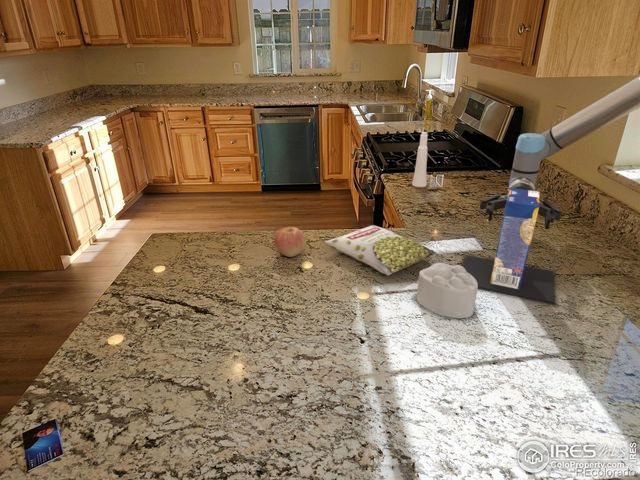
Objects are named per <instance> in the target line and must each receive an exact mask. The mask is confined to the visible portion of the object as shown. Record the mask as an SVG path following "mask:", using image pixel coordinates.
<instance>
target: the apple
mask: <svg viewBox="0 0 640 480" xmlns="http://www.w3.org/2000/svg"><path fill="white" fill-rule="evenodd" d="M273 244H274V246H275V248H276V250H277V251H278V252H279V254H281V255H283V256H285V257H288V258H292V257H296V256H298V255H299V254H301V253H302V252H303V250H304V248H305V244H306V238H305V235H304V232H303V231H302V230H301V229H300V228H298V227H295V226H288V227H282V228H280V229H279V230H277V231H276V233H275V234H274V238H273Z"/></svg>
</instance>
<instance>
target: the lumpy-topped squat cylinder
mask: <svg viewBox="0 0 640 480" xmlns="http://www.w3.org/2000/svg"><path fill="white" fill-rule="evenodd" d="M478 290H479V288H478V283H477V281H476V279H475V278H474V277H473V276H472V275H471V274H469V273H467V271H466V270H465V268H464V267H463V266H462V265H460V264H455V265H451V264H448V263H445V262H435V263H432V264H431V265H430V266H429V267H427V268H426V267H425V268H424V269H422V270H420V271H419V274H418V282H417V290H416V301H417V302H418V303H419V305H421V306H423V307H424V308H425V309H427V310H429V311H431V312H433V313H435V314H437V315H440V316H442V317H446V318H454V319H465V318H470V317H472V316H473V315H474V310H475V305H476V301H477V294H478Z"/></svg>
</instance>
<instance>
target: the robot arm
mask: <svg viewBox="0 0 640 480" xmlns="http://www.w3.org/2000/svg"><path fill="white" fill-rule="evenodd" d="M638 109H640V75H639V76H637V77H636V78H633V80H630V81H629V82H627V83H626V84H624V85H622V86H620V87H619V88H617V89H616V90H614V91H612V92H610V93H609V94H607V95H605V96H604V97H602V98H600V99H599V100H597V101H594V102H593V103H591V104H590V105H588V106H586V107H584V108H583V109H582V110H580V111H578V112H577V113H575V114H573V115H571V116H570V117H568V118H566V119H565V120H563V121H561V122H559V123H558V124H556V125H554V126H553V127H551V128H549V129H547V130H546V131H544V132H542V133H541V134H540V133H533V132H532V133H531V132H527V133H521V134H519V136H518V137H517V142H516V145H515V151H514V152H515V153H514V156H513V157H514V158H513V163H512V167H511V172H510V176H509V181H508V187H507V194H506V195H505V196H504V195H502V194H501V193H500V192H495V194H494V195H491V196H488V197H486V198H482V199H481V200H480V204H479V209H480V210H485V214H487V215H488V220H487V221H488V222H492V219H493V215H494V211H497V210H503V209H505V207H506V202H507V197H508V192H509V188H515V189H523V190H531V191H536V183H537V178H538V175H539V170H540V166H541V162H542V161H543V160H545V159H547V158H549V157H551V156H553V155H555V154H557V153H558V152H561V151H562V150H563V149H565V148H567V147H569V146H571V145H573V144H574V143H577V142H579V141H580V140H582V139H584V138H585V137H588V136H590V135H592V134H593V133H596V132H598V131H599V130H601V129H602V128H604V127H606V126H608V125H610V124H612V123H615V122H616V121H617V120H620V119H621V118H624V117H625V116H627V115H629V114H631V113H633V112H634V111H636V110H638ZM537 215H538V216H541V217H543V218H544V230H549V229H550V225H551V224H554V222H555V221H561V218H562V215H563V210H561V209H560V208H558V207H557V206H556V205H554V204H552V202H550V201H549V200H548V199H547V198H542V199H541V200H539V210H538V214H537Z"/></svg>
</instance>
